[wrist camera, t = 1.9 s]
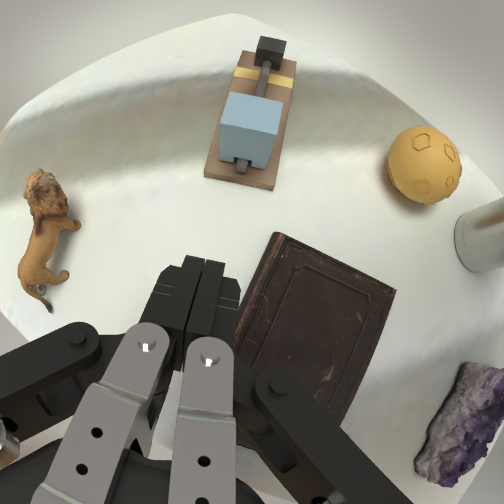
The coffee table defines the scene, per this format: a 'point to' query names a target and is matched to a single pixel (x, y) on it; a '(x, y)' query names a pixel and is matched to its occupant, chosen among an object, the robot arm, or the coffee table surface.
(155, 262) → the coffee table surface
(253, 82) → the rail
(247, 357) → the hardcover book
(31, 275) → the lion figurine
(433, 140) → the stress ball
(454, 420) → the geode
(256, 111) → the pale blue squarish block
